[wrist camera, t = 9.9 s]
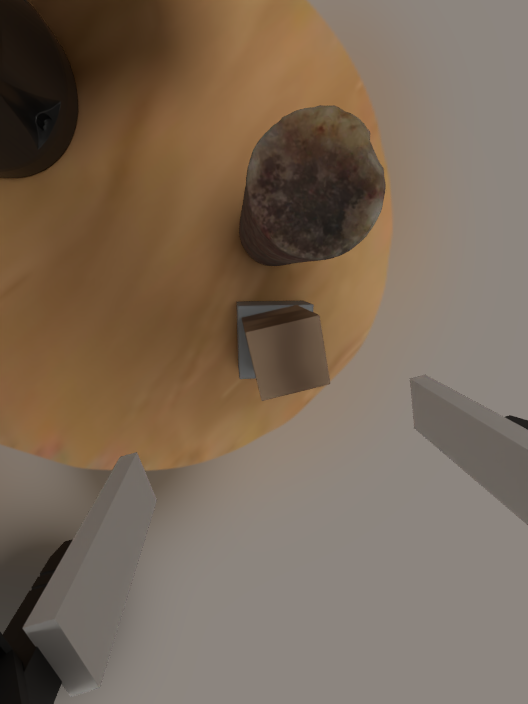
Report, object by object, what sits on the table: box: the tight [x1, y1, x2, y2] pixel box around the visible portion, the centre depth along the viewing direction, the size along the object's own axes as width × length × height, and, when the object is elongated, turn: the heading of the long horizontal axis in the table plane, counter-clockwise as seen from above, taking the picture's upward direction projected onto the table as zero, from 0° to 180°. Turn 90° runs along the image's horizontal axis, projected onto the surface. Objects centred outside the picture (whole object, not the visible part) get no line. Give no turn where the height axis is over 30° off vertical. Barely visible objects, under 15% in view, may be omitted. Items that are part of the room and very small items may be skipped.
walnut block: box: [242, 305, 330, 401], centre depth 28 cm, size 6×6×8 cm
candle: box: [239, 105, 385, 266], centre depth 24 cm, size 8×7×20 cm
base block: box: [237, 301, 313, 379], centre depth 34 cm, size 8×8×5 cm
